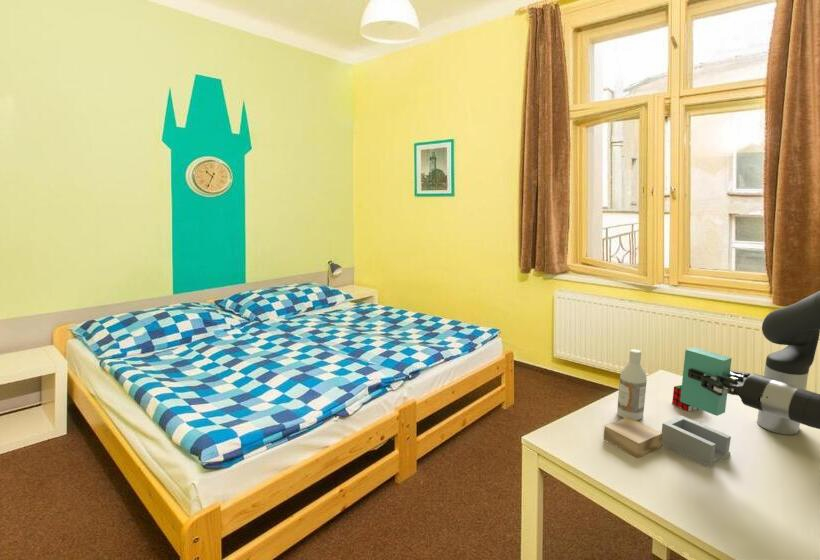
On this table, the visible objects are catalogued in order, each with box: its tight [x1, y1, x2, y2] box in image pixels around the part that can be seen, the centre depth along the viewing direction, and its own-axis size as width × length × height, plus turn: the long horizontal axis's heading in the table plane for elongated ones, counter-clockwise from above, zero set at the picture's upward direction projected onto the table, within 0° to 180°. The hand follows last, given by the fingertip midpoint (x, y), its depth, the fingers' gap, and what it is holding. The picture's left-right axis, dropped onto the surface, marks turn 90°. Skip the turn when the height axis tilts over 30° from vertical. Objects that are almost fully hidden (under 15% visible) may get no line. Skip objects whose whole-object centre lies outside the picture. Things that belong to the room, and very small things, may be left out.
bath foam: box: [616, 348, 648, 421], centre depth 137 cm, size 7×7×20 cm
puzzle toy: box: [671, 384, 699, 412], centre depth 144 cm, size 6×6×6 cm
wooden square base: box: [603, 417, 662, 459], centre depth 124 cm, size 10×10×4 cm
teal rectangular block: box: [680, 346, 732, 417], centre depth 117 cm, size 4×9×14 cm, turn 29°
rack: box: [661, 415, 732, 469], centre depth 121 cm, size 10×13×6 cm
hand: (694, 370), depth 119 cm, fingers closed on teal rectangular block, 3 cm apart
